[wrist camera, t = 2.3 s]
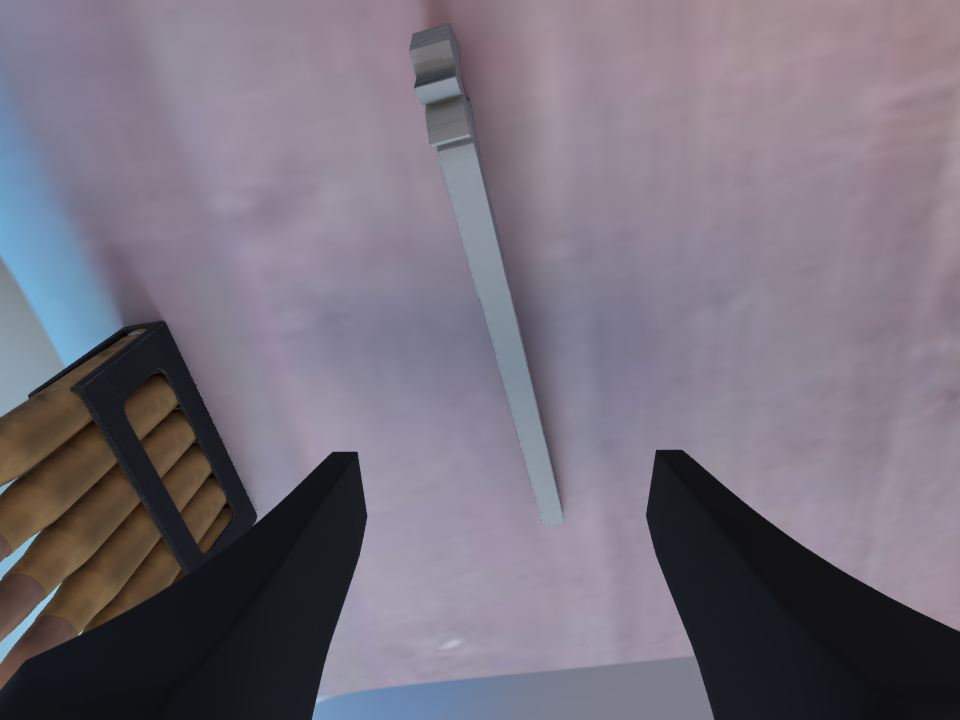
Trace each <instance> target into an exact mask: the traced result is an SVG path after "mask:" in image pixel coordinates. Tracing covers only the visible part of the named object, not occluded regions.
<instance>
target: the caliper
mask: <svg viewBox="0 0 960 720" xmlns="http://www.w3.org/2000/svg"><path fill="white" fill-rule="evenodd" d="M409 52H410V55H411V59H412V63H413V66H414V70H415V74H416V77H417V78H416V83H415V87H414V90H415V93H416V96H417V98H418V99H419V101H420V102H421V103H422V104H423V105H425V104H426V122H427V129H428V136H429V142H430V146H431V147H433V146H437V147H438V148H437V153H438V157H439V160H440V164H441V168H442V171H443V175H444V178H445V182H446V185H447V189H448V193H449V196H450V200H451V203H452V207H453V210H454V214H455V217H456V221H457V224H458V228H459V232H460V235H461V239H462V242H463V246H464V249H465V253H466V256H467V260H468V263H469V267H470V271H471V274H472V278H473V281H474V285H475V288H476V292H477V295H478V296H479V297H480V301H481V304H482V308H483V312H484V315H485V319H486V322H487V326H488V329H489V333H490V337H491V340H492V344H493V347H494V351H495V355H496V358H497V362H498V365H499V369H500V373H501V376H502V380H503V383H504V387H505V391H506V394H507V398H508V401H509V405H510V409H511V412H512V416H513V419H514V423H515V427H516V430H517V434H518V437H519V441H520V445H521V448H522V452H523V455H524V459H525V463H526V466H527V470H528V473H529V477H530V481H531V484H532V488H533V491H534V495H535V498H536V502H537V506H538V509H539V513H540V516H541V520H542V521H543V523H544V526H548V525H554V524H560V523H565V520H564V515H563V511H562V507H561V503H560V498H559V492H558V488H557V484H556V480H555V475H554V471H553V467H552V463H551V458H550V454H549V450H548V445H547V441H546V437H545V433H544V428H543V424H542V420H541V416H540V411H539V407H538V403H537V399H536V394H535V390H534V386H533V382H532V377H531V373H530V369H529V365H528V360H527V356H526V352H525V348H524V343H523V339H522V335H521V331H520V326H519V322H518V318H517V313H516V309H515V305H514V301H513V296H512V292H511V288H510V284H509V279H508V275H507V271H506V267H505V262H504V255H503V250H502V246H501V241H500V237H499V233H498V229H497V225H496V220H495V216H494V212H493V207H492V203H491V199H490V195H489V191H488V187H487V184H486V180H485V175H484V171H483V167H482V162H481V157H480V151H479V145H478V140H477V134H476V128H475V122H474V117H473V112H472V107H471V102H470V98H466V96H465V92H464V88H463V84H462V80H461V70H460V57H459V50H458V46H457V42H456V38H455V35H454V32H453V30H452V29H451V27H450V25H449V23H448V24H445V25H442V26H438V27H435V28H431V29H428V30H424V31H421V32H418V33H414V34H413V36H412V41H411V45H410V50H409Z"/></svg>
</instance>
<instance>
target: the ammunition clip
mask: <svg viewBox="0 0 960 720" xmlns="http://www.w3.org/2000/svg"><path fill="white" fill-rule="evenodd" d="M28 397H29V399H28V400H27V401H25V402H24V403H22V404H21V405H19V406H18V407H16V408H14V409H13V410H11V411H10V412H8V413H7V414H5V415H4V416H2V417H0V487H1V486H3V485H5V484H7V483H9V482H11V481H12V480H14V479H16V478H18V477H19V478H18V479H17V480H15V481H14V482H13V483H12V484H11V485H10V486H9V487H8V488H7V489H6V490H5V491H4V492H3V493H2V494H1V495H0V562H1V561H2V560H3V559H4V558H5V557H8V556H9V555H10V554H12V553H13V552H14V551H15V550H16V549H17V548H19V547H20V546H21V545H22V544H23V543H24V542H25V541H27V540H28V539H29V538H30V537H32V536H33V535H35V534H36V533H38V532H39V531H41V530H42V531H41V532H40V533H39V534H38V535H37V537H36V538H35V539H34V541H33V542H32V543H31V545H30V546H29V548H28V549H27V550H26V552H25V553H24V555H23V556H22V557H21V558H20V559H19V560H18V562H16V564H15V565H14V566H13V567H12V568H11V569H10V570H9V571H8V572H7V573H6V574H5V575H4V576H3V577H2V580H1V581H0V642H1V641H2V640H3V639H4V638H5V637H6V636H7V635H8V634H9V633H11V632H12V631H13V630H14V629H15V628H16V627H17V626H18V625H19V624H20V623H21V622H22V621H23V620H24V619H25V618H26V617H27V616H28V615H29V614H30V613H31V612H32V611H33V610H34V609H35V607H36V606H37V605H38V604H39V603H40V602H41V601H42V600H44V599H45V598H46V597H47V596H48V595H49V594H50V593H51V592H52V591H53V590H54V589H55V588H56V587H57V586H58V585H59V584H60V583H61V582H62V583H61V585H60V586H59V588H58V590H57V591H56V593H55V595H54V596H53V598H52V599H51V600H50V602H49V603H48V604H47V605H46V606H45V608H44V609H43V610H42V611H41V612H40V614H39V615H38V616H37V617H36V619H35V621H34V623H33V624H32V625H31V626H30V627H29V628H28V630H27V631H26V632H25V633H24V634H23V635H22V636H21V638H20V639H19V640H18V641H17V642H16V644H15V645H14V646H13V647H12V649H11V650H10V651H9V653H8V654H7V656H6V657H5V658H4V660H3V661H2V662H1V664H0V690H1V689H2V687H3V686H4V685H5V684H6V683H7V681H8V680H9V679H10V678H11V677H12V675H13V674H14V673H15V672H16V671H17V669H18V668H19V667H20V666H21V665H22V664H23V663H24V662H25V660H27V659H29V658H32V657H34V656H36V655H38V654H41V653H43V652H45V651H47V650H49V649H51V648H53V647H55V646H58V645H60V644H62V643H64V642H66V641H68V640H70V639H72V638H75V637H77V636H78V635H79V633H80V632H81V631H82V630H83V631H82V633H81V634H83V633H85V632H87V631H89V630H91V629H93V628H95V627H97V626H99V625H101V624H103V623H105V622H107V621H109V620H111V619H113V618H114V617H116V616H118V615H120V614H122V613H124V612H126V611H127V610H129V609H131V608H133V607H135V606H136V605H138V604H140V603H142V602H143V601H145V600H147V599H149V598H150V597H152V596H154V595H156V594H157V593H159V592H161V591H162V590H164V589H165V588H167V587H168V586H170V585H172V584H173V583H175V582H176V581H178V580H179V579H181V578H183V577H184V576H186V575H187V574H189V573H190V572H192V571H194V570H195V569H197V568H198V567H200V566H201V565H203V564H204V563H206V562H207V561H208V560H210V559H211V558H213V557H214V556H215V555H217V554H218V553H219V552H221V551H222V550H224V549H225V548H226V547H228V546H229V545H230V544H232V543H233V542H234V541H236V540H237V539H238V538H239V537H241V536H242V535H243V534H244V533H246V532H247V531H248V530H249V529H250V528H251V527H253V525H254V524H255V522H256V519H257V515H256V513H255V511H254V509H253V507H252V505H251V503H250V501H249V499H248V496H247V494H246V492H245V490H244V488H243V486H242V484H241V482H240V479H239V477H238V475H237V473H236V471H235V469H234V467H233V465H232V463H231V460H230V458H229V456H228V454H227V452H226V450H225V448H224V446H223V444H222V441H221V439H220V437H219V435H218V433H217V431H216V429H215V427H214V425H213V422H212V420H211V418H210V416H209V414H208V412H207V410H206V408H205V405H204V403H203V401H202V399H201V397H200V395H199V393H198V391H197V389H196V386H195V384H194V382H193V380H192V378H191V376H190V374H189V372H188V370H187V367H186V365H185V363H184V361H183V359H182V357H181V355H180V353H179V351H178V348H177V346H176V344H175V342H174V340H173V338H172V336H171V334H170V332H169V329H168V327H167V325H166V323H163V322H155V323H149V324H143V325H137V326H131V327H125V328H122V329H120V330H119V331H118V332H116V333H115V334H113V335H112V336H111V337H109V338H108V339H106V340H105V341H103V342H102V343H101V344H99V345H98V346H96V347H95V348H94V349H92V350H91V351H89V352H88V353H87V354H85V355H84V356H82V357H81V358H79V359H78V360H77V361H75V362H74V363H72V364H71V365H70V366H68V367H67V368H65V369H64V370H62V371H61V372H60V373H58V374H57V375H55V376H54V377H53V378H51V379H50V380H49V381H47V382H46V383H44V384H43V385H42V386H40V387H38V388H37V389H36V390H34V391H33V392H31V393H30V394H29V395H28ZM21 475H22V476H21Z"/></svg>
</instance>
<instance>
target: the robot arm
mask: <svg viewBox="0 0 960 720" xmlns="http://www.w3.org/2000/svg"><path fill="white" fill-rule="evenodd" d="M646 518H647V522H648V526H649V530H650V534H651V538H652V542H653V546H654V549H655V553H656V556H657V559H658V562H659V564H660V567H661V569H662V572H663V574H664V577H665V580H666V582H667V585H668V587H669V590H670V592H671V595H672V597H673V600H674V602H675V605H676V607H677V610H678V612H679V615H680V617H681V620H682V622H683V625H684V627H685V630H686V632H687V635H688V637H689V640H690V642H691V645H692V647H693V650H694V653H695V656H696V659H697V661H698V664H699V668H700V671H701V675H702V678H703V681H704V685H705V688H706V692H707V694H708V699H709V702H710V705H711V709H712V712H713V716H714V720H960V632H959V631H957V630H955V629H953V628H951V627H948V626H946V625H944V624H942V623H940V622H938V621H936V620H934V619H932V618H930V617H928V616H925V615H923V614H921V613H919V612H917V611H915V610H913V609H911V608H909V607H907V606H905V605H903V604H901V603H899V602H897V601H895V600H894V599H892V598H890V597H888V596H886V595H884V594H882V593H881V592H879V591H877V590H875V589H873V588H872V587H870V586H868V585H866V584H864V583H863V582H861V581H859V580H857V579H855V578H854V577H852V576H850V575H848V574H847V573H845V572H843V571H842V570H840V569H838V568H837V567H835V566H833V565H832V564H830V563H829V562H827V561H826V560H824V559H822V558H821V557H819V556H818V555H816V554H815V553H813V552H812V551H810V550H808V549H807V548H805V547H804V546H802V545H801V544H799V543H798V542H796V541H795V540H794V539H792V538H791V537H789V536H788V535H786V534H785V533H784V532H782V531H781V530H780V529H778V528H777V527H776V526H774V525H773V524H772V523H770V522H769V521H767V520H766V519H765V518H763V517H762V516H761V515H760V514H758V513H757V512H756V511H754V510H753V509H752V508H751V507H749V506H748V505H747V504H746V503H744V502H743V501H742V500H741V499H740V498H738V497H737V496H736V495H735V494H733V493H732V492H731V491H730V490H729V489H727V488H726V487H725V486H724V485H723V484H722V483H720V482H719V481H718V480H717V479H716V478H715V477H713V476H712V475H711V474H710V473H709V472H708V471H706V470H705V469H704V468H703V467H702V466H701V465H700V464H698V463H697V462H696V461H695V460H694V459H693V458H691V457H690V456H689V455H688V454H687V453H685V452H684V451H683V450H656V454H655V461H654V467H653V474H652V480H651V487H650V493H649V500H648V506H647V513H646ZM366 521H367V511H366V505H365V498H364V492H363V485H362V479H361V472H360V465H359V459H358V452H332V453H331V454H330V455H329V456H328V457H327V458H326V459H325V460H324V461H323V462H322V463H321V464H320V465H318V466H317V467H316V468H315V469H314V470H313V471H312V472H311V473H310V474H309V475H308V476H307V477H306V478H305V479H304V480H303V481H302V482H301V483H300V484H299V485H298V486H297V487H296V488H295V489H294V490H293V491H292V492H291V493H290V494H289V495H288V496H286V497H285V498H284V499H283V500H282V501H281V502H280V503H279V504H278V505H277V506H276V507H275V508H274V509H272V510H271V511H270V512H269V513H268V514H267V515H265V516H264V517H263V518H262V519H261V520H260V521H258V522H257V523H256V524H255V525H254V526H253V527H251V528H250V529H249V530H248V531H247V532H246V533H244V534H243V535H242V536H241V537H239V538H238V539H237V540H236V541H234V542H233V543H232V544H230V545H229V546H228V547H226V548H225V549H224V550H222V551H221V552H219V553H218V554H217V555H215V556H214V557H213V558H211V559H210V560H208V561H207V562H206V563H204V564H203V565H201V566H200V567H198V568H197V569H195V570H194V571H192V572H190V573H189V574H187V575H186V576H184V577H183V578H181V579H179V580H178V581H176V582H175V583H173V584H172V585H170V586H168V587H167V588H165V589H164V590H162V591H161V592H159V593H157V594H156V595H154V596H152V597H150V598H149V599H147V600H145V601H143V602H142V603H140V604H138V605H136V606H135V607H133V608H131V609H129V610H127V611H126V612H124V613H122V614H120V615H118V616H116V617H114V618H113V619H111V620H109V621H107V622H105V623H103V624H101V625H99V626H97V627H95V628H93V629H91V630H89V631H87V632H85V633H83V634H81V635H79V636H77V637H75V638H72V639H70V640H68V641H66V642H64V643H62V644H60V645H58V646H55V647H53V648H51V649H49V650H47V651H45V652H43V653H41V654H38V655H36V656H34V657H32V658H29V659H27V660H25V662H24V663H23V664H22V665H21V666H20V667H19V668H18V669H17V671H16V672H15V673H14V674H13V675H12V677H11V678H10V679H9V680H8V681H7V683H6V684H5V685H4V686H3V687H2V689H1V690H0V720H312V716H313V711H314V706H315V702H316V698H317V694H318V689H319V685H320V681H321V676H322V672H323V668H324V663H325V660H326V656H327V653H328V650H329V646H330V643H331V640H332V637H333V634H334V631H335V628H336V625H337V622H338V619H339V616H340V613H341V610H342V607H343V604H344V601H345V598H346V595H347V592H348V589H349V586H350V583H351V580H352V577H353V574H354V571H355V568H356V565H357V562H358V559H359V556H360V551H361V546H362V542H363V537H364V531H365V526H366Z"/></svg>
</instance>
